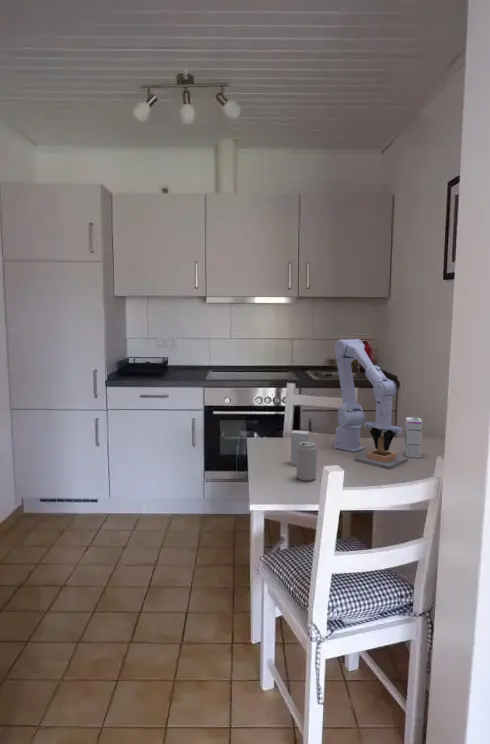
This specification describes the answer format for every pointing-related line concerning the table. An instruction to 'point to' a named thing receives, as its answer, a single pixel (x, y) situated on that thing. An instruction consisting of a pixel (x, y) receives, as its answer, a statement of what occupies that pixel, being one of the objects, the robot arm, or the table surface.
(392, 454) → the collar stand
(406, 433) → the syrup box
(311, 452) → the beverage can
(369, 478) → the table surface
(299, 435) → the skincare box
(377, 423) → the robot arm
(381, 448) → the wood peg
